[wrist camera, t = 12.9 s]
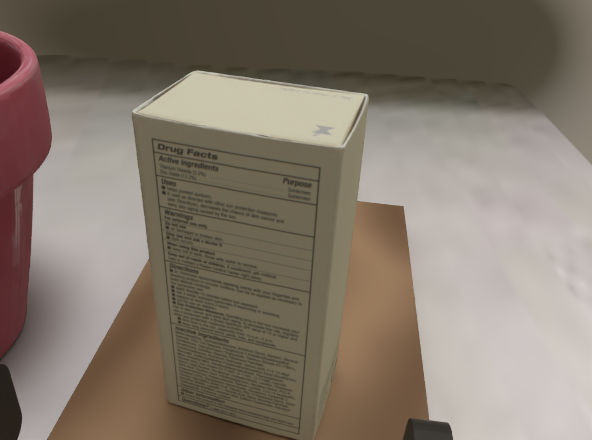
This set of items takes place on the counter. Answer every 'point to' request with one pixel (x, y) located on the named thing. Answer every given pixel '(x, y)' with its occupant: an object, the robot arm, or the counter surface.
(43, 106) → the plant pot
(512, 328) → the counter surface
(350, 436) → the walnut board
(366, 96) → the skincare box
